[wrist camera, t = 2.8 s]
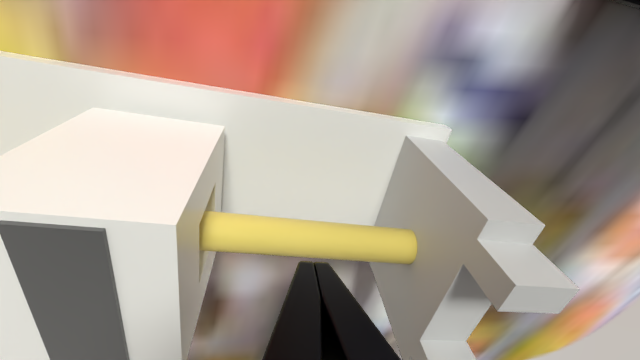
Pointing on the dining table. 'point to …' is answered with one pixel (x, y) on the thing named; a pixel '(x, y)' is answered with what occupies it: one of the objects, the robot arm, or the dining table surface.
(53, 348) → the marker sleeve
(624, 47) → the dining table surface
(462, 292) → the cord rig
